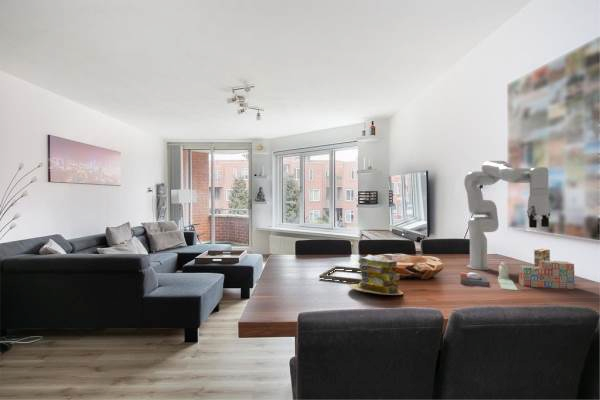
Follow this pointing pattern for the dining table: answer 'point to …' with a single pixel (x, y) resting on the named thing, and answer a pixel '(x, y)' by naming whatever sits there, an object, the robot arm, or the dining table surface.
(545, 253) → the candy box
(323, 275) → the frame
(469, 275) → the dome
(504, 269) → the pawn
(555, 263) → the stack of blocks
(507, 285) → the track
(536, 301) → the dining table surface
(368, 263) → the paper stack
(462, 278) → the grey stepped block
